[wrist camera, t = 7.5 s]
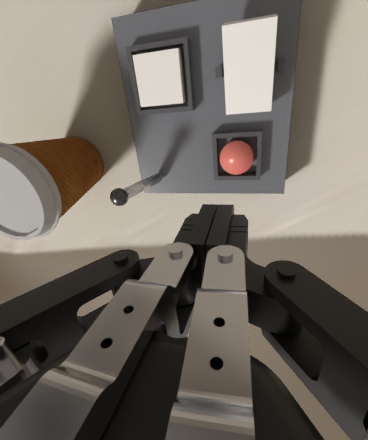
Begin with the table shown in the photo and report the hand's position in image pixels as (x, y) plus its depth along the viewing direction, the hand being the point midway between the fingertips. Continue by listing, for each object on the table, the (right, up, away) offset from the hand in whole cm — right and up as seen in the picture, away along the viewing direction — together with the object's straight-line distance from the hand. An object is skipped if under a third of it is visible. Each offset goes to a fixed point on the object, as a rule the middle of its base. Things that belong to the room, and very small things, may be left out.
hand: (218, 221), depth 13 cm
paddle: (-4, +13, +10) cm, 16 cm away
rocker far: (+3, +12, +7) cm, 14 cm away
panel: (+1, +11, +13) cm, 17 cm away
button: (+3, +6, +11) cm, 13 cm away
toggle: (-4, +5, +15) cm, 16 cm away
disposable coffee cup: (-15, +8, +20) cm, 26 cm away
